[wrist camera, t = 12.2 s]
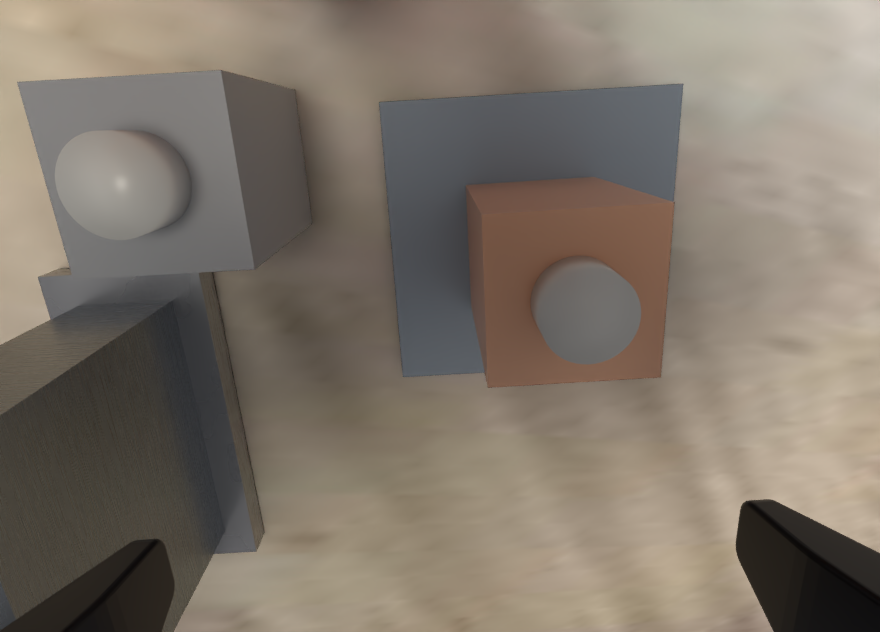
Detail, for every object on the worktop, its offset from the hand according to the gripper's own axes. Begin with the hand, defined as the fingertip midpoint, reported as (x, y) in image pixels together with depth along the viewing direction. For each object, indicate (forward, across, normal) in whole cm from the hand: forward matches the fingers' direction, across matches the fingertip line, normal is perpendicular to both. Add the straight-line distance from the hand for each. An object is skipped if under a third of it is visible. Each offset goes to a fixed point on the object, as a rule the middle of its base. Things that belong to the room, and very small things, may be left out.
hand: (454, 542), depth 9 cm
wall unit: (+11, +10, +3) cm, 15 cm away
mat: (+11, -3, -2) cm, 11 cm away
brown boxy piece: (+10, -3, -2) cm, 11 cm away
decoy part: (+11, +6, -6) cm, 13 cm away
